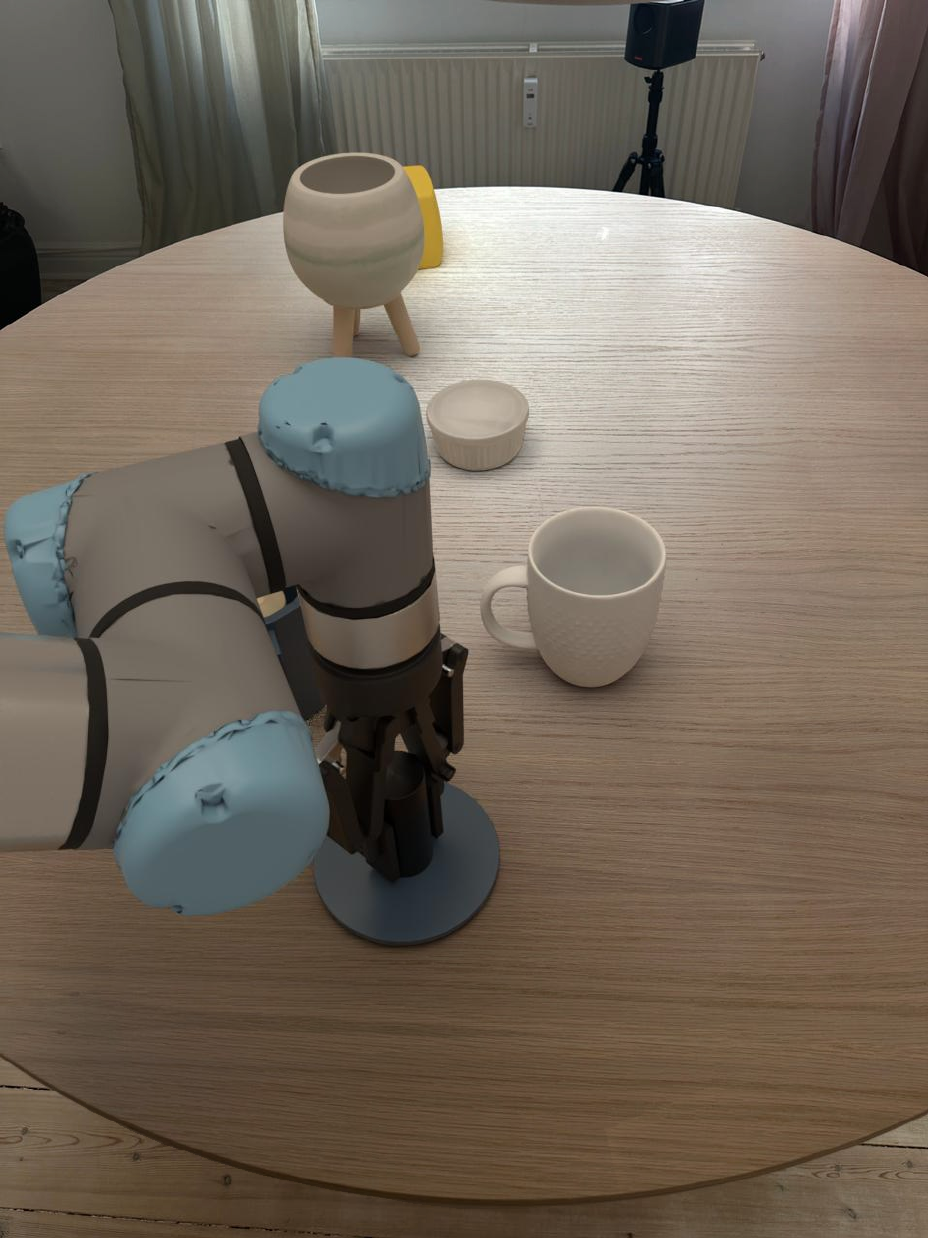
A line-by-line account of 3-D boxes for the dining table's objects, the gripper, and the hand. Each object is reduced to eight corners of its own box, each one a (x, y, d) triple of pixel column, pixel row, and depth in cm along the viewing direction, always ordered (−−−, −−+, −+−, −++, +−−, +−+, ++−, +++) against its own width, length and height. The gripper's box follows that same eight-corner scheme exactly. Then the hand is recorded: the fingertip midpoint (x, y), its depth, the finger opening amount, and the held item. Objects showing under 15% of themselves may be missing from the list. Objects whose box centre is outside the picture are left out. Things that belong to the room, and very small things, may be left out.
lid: (341, 977, 67) (318, 896, 59) (296, 816, 77) (271, 727, 69) (527, 911, 70) (530, 826, 62) (463, 764, 79) (458, 673, 71)
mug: (480, 707, 84) (476, 597, 74) (483, 615, 91) (480, 505, 82) (657, 708, 83) (675, 598, 73) (645, 615, 90) (660, 504, 81)
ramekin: (446, 487, 105) (444, 447, 101) (416, 431, 112) (412, 391, 108) (544, 464, 107) (545, 423, 103) (507, 410, 114) (507, 370, 111)
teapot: (453, 281, 137) (449, 196, 129) (365, 290, 136) (355, 205, 128) (434, 220, 151) (429, 140, 143) (353, 229, 150) (344, 148, 142)
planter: (332, 316, 131) (307, 141, 115) (447, 329, 128) (438, 150, 112) (285, 380, 121) (250, 197, 105) (409, 396, 117) (393, 209, 101)
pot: (214, 776, 79) (177, 675, 71) (182, 627, 91) (147, 524, 83) (364, 731, 82) (346, 628, 73) (314, 592, 94) (293, 489, 85)
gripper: (424, 521, 61) (443, 748, 78) (212, 684, 53) (284, 900, 69) (519, 572, 58) (517, 798, 75) (308, 755, 49) (359, 965, 66)
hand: (405, 846), depth 72 cm, fingers closed on lid, 4 cm apart
